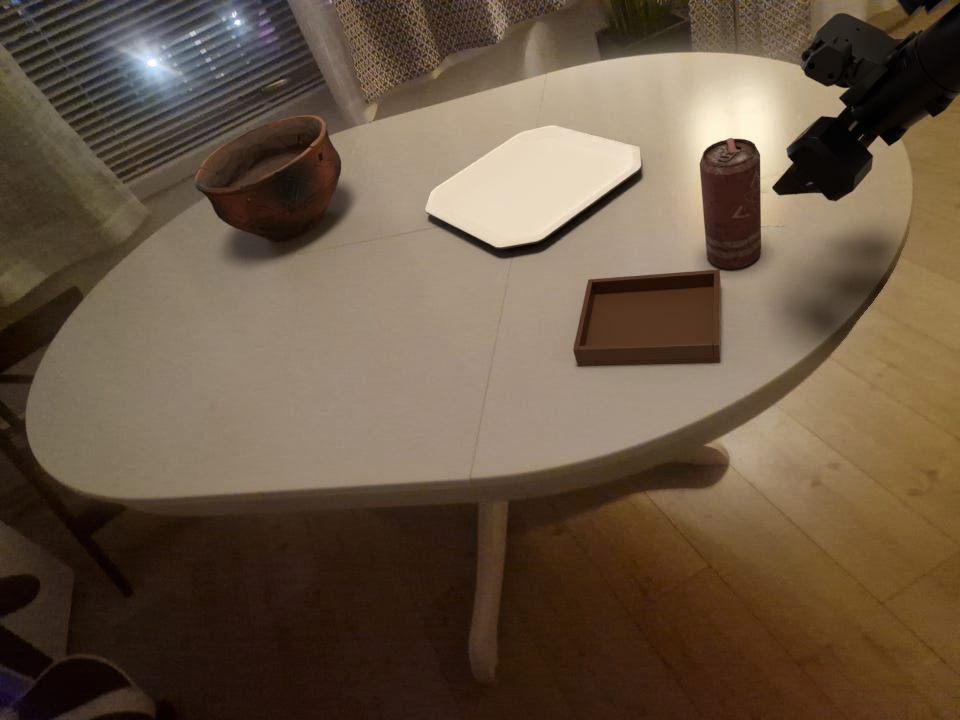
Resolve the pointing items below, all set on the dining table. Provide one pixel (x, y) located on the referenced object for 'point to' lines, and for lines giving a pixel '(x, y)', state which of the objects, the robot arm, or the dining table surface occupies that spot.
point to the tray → (650, 319)
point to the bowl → (273, 178)
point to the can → (731, 202)
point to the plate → (532, 185)
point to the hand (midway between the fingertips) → (799, 166)
